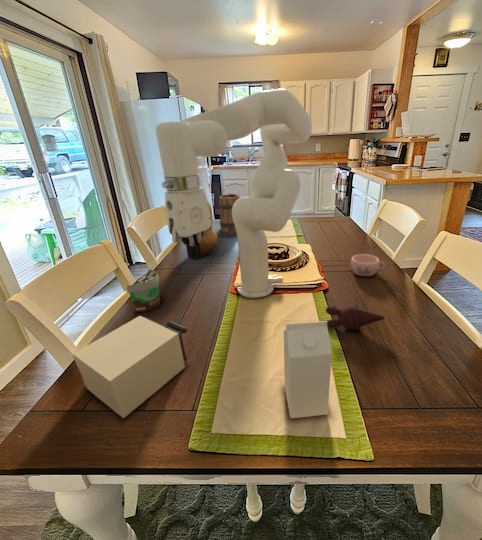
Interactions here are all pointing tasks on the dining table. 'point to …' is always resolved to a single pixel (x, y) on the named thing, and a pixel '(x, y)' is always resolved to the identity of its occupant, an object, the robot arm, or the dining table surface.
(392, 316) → the dining table surface
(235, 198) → the tankard
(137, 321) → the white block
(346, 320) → the icecream
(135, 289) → the food container
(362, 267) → the mug
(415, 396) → the dining table surface
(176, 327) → the drawer
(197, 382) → the dining table surface
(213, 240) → the butternut squash
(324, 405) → the milk carton
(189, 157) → the robot arm
